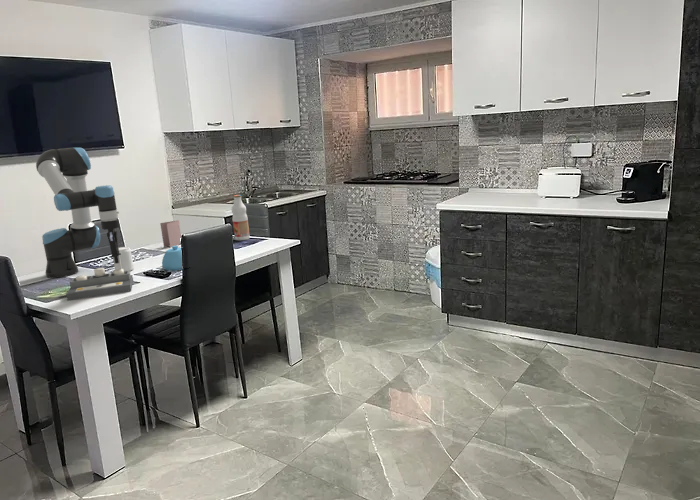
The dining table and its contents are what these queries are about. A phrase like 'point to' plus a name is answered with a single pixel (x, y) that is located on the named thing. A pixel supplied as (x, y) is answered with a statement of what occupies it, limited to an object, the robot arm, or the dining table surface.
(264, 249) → the dining table surface
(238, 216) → the fruit juice
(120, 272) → the button
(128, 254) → the beverage can
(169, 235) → the pink rectangular block
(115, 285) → the button panel
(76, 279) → the button
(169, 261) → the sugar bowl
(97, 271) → the middle button
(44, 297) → the dining table surface
